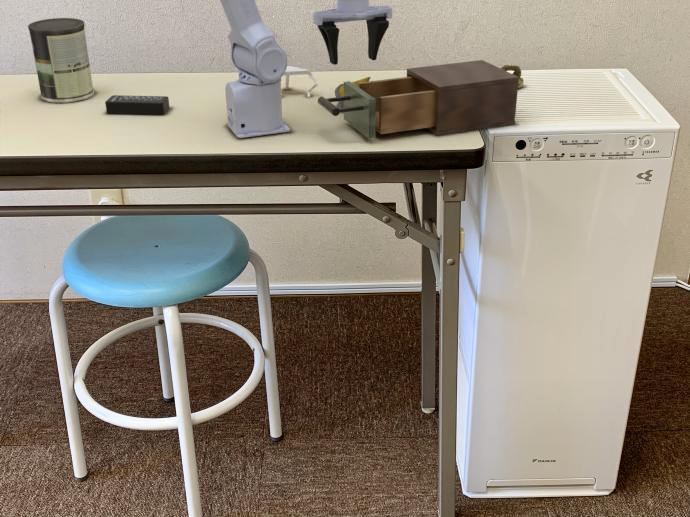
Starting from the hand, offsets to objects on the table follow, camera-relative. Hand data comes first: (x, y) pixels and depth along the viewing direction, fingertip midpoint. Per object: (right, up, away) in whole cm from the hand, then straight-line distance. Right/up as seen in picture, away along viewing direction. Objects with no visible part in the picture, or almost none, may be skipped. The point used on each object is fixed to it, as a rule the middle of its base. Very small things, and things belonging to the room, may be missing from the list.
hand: (353, 61), depth 153 cm
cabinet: (+19, -11, -1) cm, 22 cm away
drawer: (+4, -13, -7) cm, 15 cm away
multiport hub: (-40, -9, +4) cm, 41 cm away
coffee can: (-57, -4, +13) cm, 58 cm away
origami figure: (-13, -4, +13) cm, 19 cm away
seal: (+27, -1, +18) cm, 33 cm away
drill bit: (0, -8, +4) cm, 9 cm away
